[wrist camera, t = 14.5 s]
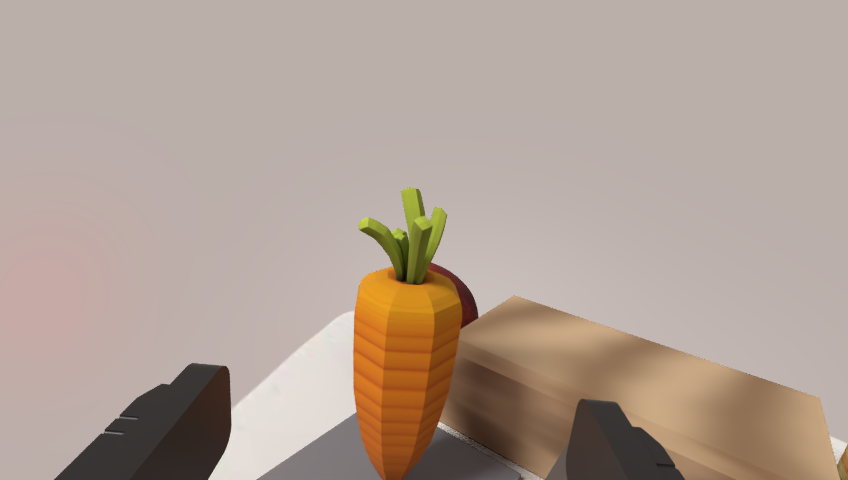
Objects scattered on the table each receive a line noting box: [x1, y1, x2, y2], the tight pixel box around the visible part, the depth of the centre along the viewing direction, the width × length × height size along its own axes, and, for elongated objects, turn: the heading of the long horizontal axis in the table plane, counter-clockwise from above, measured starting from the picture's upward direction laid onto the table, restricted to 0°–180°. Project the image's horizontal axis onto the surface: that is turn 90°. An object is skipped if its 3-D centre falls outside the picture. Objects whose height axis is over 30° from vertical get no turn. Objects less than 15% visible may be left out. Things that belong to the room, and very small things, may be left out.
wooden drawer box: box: [439, 296, 840, 480], centre depth 23 cm, size 18×16×6 cm
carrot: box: [353, 188, 462, 480], centre depth 21 cm, size 5×5×15 cm
